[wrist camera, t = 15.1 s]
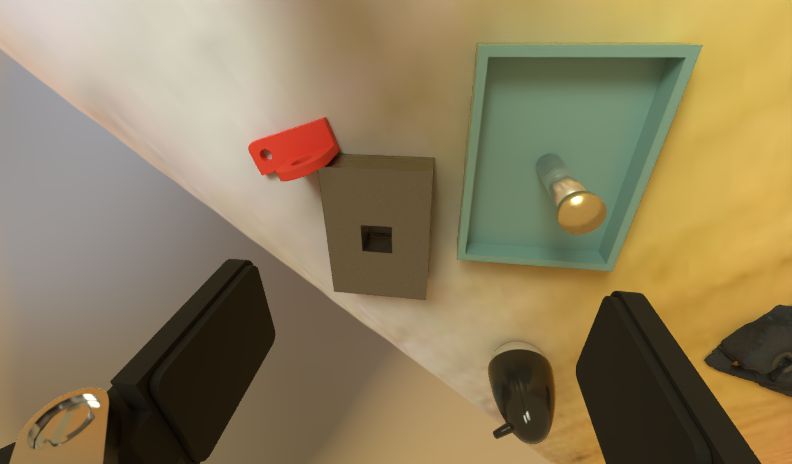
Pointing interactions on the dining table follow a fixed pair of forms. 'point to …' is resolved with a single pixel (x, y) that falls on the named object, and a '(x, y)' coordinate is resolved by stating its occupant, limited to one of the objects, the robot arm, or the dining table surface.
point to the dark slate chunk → (760, 351)
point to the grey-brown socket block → (378, 223)
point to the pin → (570, 197)
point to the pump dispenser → (523, 391)
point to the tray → (564, 144)
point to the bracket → (296, 150)
